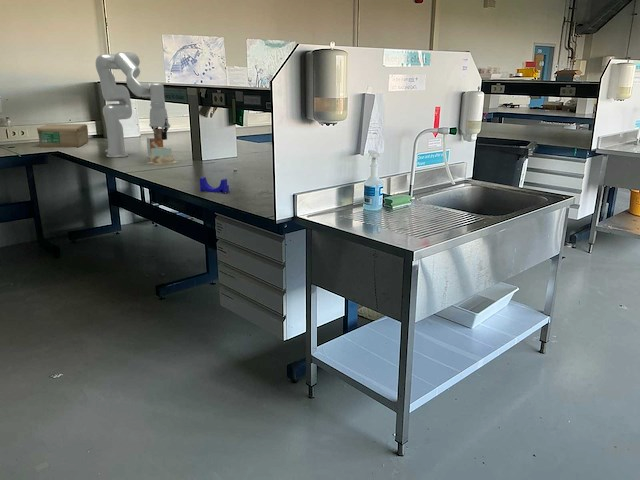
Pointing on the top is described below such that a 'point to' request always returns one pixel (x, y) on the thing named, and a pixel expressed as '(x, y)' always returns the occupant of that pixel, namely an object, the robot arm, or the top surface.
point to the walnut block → (158, 134)
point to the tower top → (161, 151)
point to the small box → (153, 144)
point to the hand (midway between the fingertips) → (160, 138)
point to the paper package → (63, 135)
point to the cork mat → (163, 164)
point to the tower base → (161, 159)
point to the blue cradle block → (206, 187)
